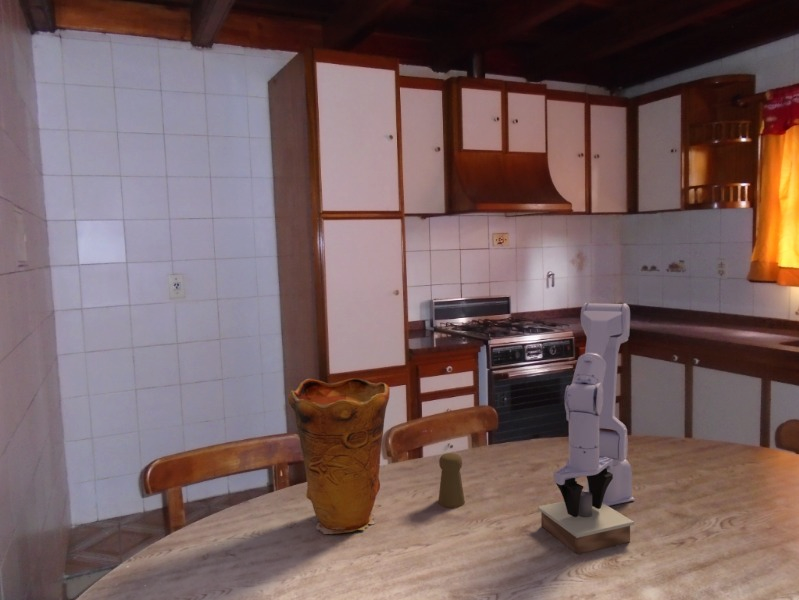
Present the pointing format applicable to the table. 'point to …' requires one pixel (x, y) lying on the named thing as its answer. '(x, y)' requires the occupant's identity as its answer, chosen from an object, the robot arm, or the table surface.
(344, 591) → the table surface
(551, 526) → the walnut crate
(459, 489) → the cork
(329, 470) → the vase
